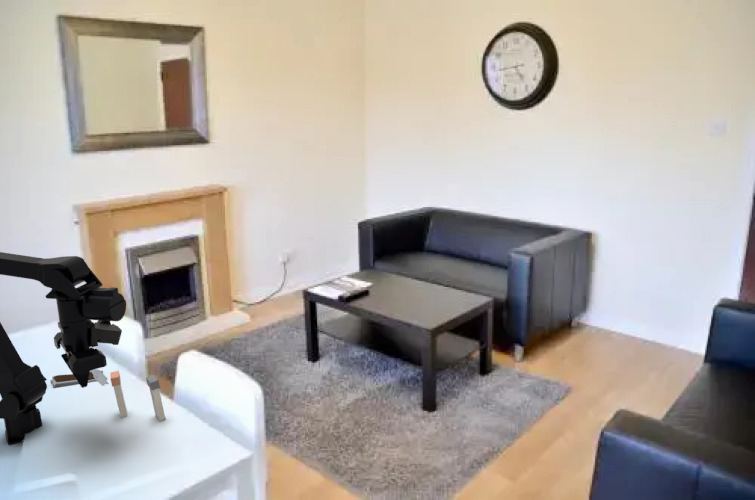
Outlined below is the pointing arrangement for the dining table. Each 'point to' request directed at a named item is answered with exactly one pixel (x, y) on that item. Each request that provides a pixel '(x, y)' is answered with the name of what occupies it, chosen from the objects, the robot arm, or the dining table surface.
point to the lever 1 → (118, 392)
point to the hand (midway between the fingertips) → (84, 386)
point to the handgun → (71, 380)
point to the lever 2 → (156, 396)
